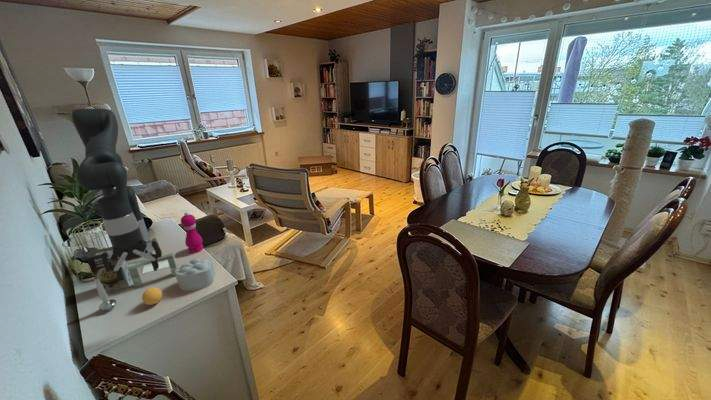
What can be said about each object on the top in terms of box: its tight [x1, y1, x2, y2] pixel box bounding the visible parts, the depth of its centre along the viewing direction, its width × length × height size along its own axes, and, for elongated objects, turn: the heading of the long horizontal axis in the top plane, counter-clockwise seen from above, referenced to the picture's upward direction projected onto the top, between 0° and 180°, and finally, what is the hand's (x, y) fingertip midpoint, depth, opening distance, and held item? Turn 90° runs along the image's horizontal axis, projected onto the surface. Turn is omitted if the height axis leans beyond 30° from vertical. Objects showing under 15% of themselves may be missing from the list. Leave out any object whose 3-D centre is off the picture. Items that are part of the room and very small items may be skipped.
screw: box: [93, 278, 117, 312], centre depth 100 cm, size 13×5×5 cm
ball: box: [141, 286, 163, 306], centre depth 103 cm, size 6×6×6 cm
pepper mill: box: [180, 211, 204, 254], centre depth 135 cm, size 7×7×20 cm
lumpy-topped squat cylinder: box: [175, 257, 216, 292], centre depth 113 cm, size 10×13×9 cm
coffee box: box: [85, 246, 132, 293], centre depth 111 cm, size 9×6×16 cm
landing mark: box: [141, 252, 176, 275], centre depth 129 cm, size 12×12×1 cm
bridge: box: [127, 251, 178, 289], centre depth 115 cm, size 3×15×10 cm, turn 120°
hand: (140, 274), depth 91 cm, fingers open, 8 cm apart
